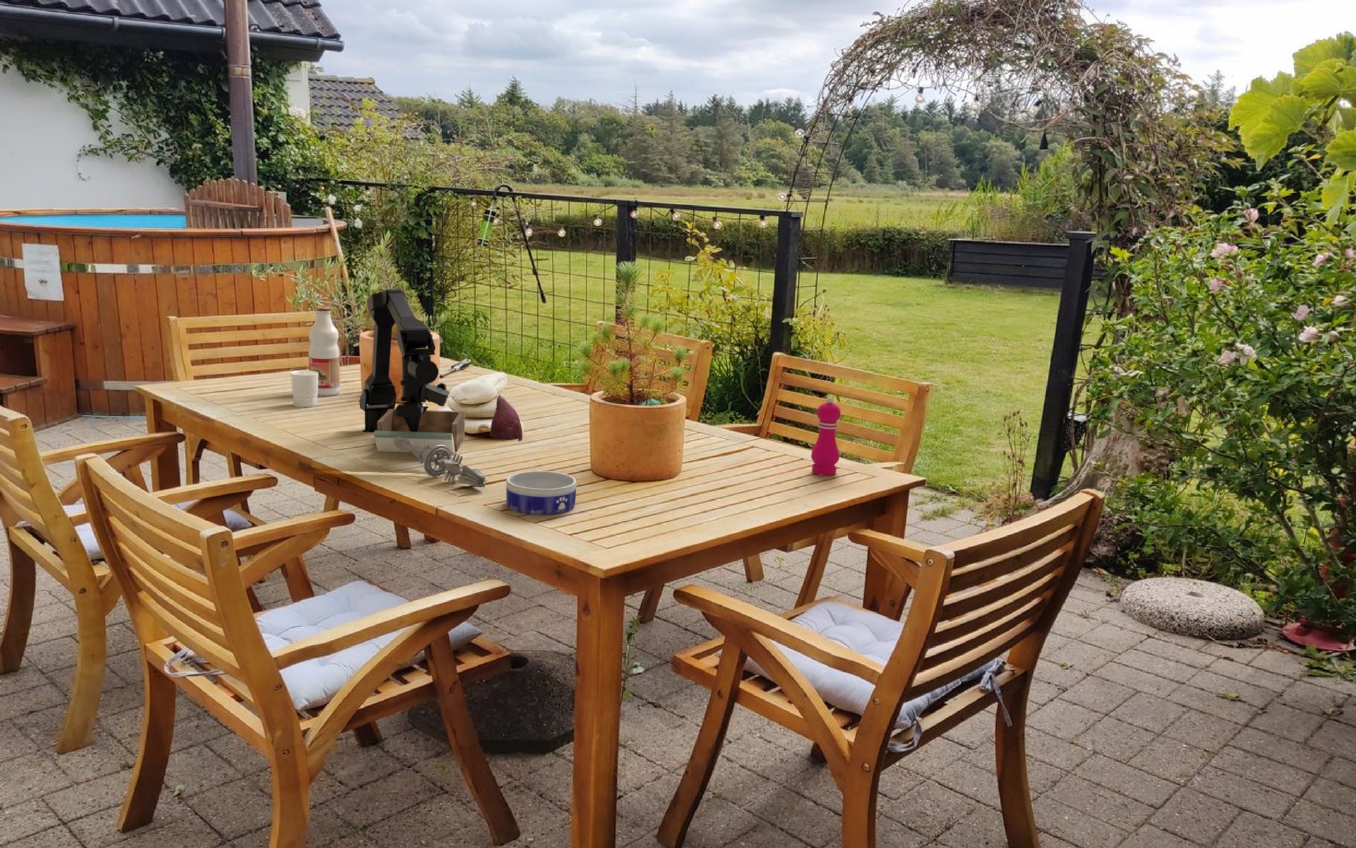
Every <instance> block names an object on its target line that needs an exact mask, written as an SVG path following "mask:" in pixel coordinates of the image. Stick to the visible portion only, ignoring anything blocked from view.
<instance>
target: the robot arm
mask: <svg viewBox="0 0 1356 848" xmlns="http://www.w3.org/2000/svg"><path fill="white" fill-rule="evenodd" d="M366 302H367V303H366V307H367V310H368V314H369V316H370V318H371V319H372V321H373V323H374V325H373V327H374V328H373V342H372V343H373V344H372V360H371V361H372V363H371V372H370V375H369V376H368V377H367V379H365V381H364V388H363V389H362V391H361V395H360V396H359V397H360V398H359V401H358V402H359V409H360V410H362V411H363V412H364V429H363V431H362V432H363V433H374V431H377V422H378V421H379V420H380V419H381V418H382V417H383V415H384V414H385V413H386V412H387V411H388V410H389V409H395V416H397V417H403V418H404V420H405V422H406V424H407V425H408V428H409V430H410V432H418V429H419V424H420V420H421V416H422V415H423V414H424V413H425V412H426V410H428V409H429V406H425V405H424V403H426V401H427V402H428V403H434V404H436V405H437V406H439V407H444V406H445V405H446V403H447V400H448V398H449V395H450V390H448V389H447V385H446V383H444V382H440V383H438V384H437V385H435V384H433V385H432V383H433V382H435V381H436V379H437V378H438V376H439V368H438V366H437V364H436V363H435V361H432V360H431V359H432V358H431V356H435V355H436V353H435V351H436V343H435V342H434V338H433V335H432V333H431V330H430V329H428V326H427V325H426V323H424V321H422V320H420V319H417V317H416V316H415V314H414V313H413V311H412V308H411V307H410V304H409V303H408V301H407V299H406V295H405V291H404V289H401V288H400V289H399V288H398V289H397V288H389V289H388V288H386V289H384V290H382V291H379V292H376V293H375V292H374V293H372V294H371V295H369V296H368V298H367V300H366ZM395 324H396V326H397V328H398V329H397V331H396V342H397V344H398V348H399V351H400V354H401V380H400V386H401V387H402V388H401V391H402V393H401V397H400V403H398V404H397V406H396V402H397V401H396V400H397V396H398V393H397V392H396V388H395V385H394V383H393V381H392V379H391V378H390V370H391V369H390V367H391V366H390V365H391V349H392V335H393V327H394V326H395Z"/></svg>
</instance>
